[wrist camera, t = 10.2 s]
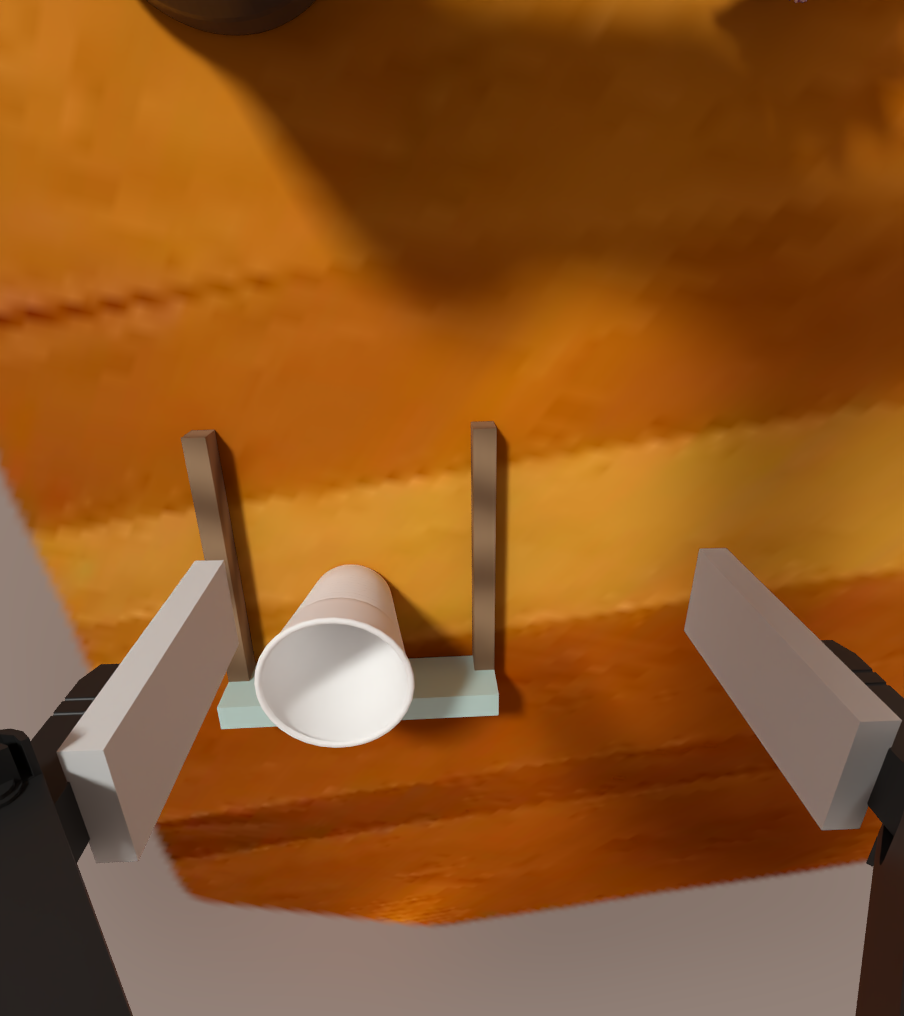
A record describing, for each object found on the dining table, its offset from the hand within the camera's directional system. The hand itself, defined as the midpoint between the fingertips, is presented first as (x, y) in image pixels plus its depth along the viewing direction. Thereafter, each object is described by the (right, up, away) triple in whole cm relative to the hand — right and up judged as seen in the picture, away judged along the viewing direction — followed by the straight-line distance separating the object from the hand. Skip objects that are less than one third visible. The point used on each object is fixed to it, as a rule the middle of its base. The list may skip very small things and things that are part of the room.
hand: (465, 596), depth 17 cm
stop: (-8, -11, +33) cm, 36 cm away
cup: (-8, -5, +31) cm, 32 cm away
